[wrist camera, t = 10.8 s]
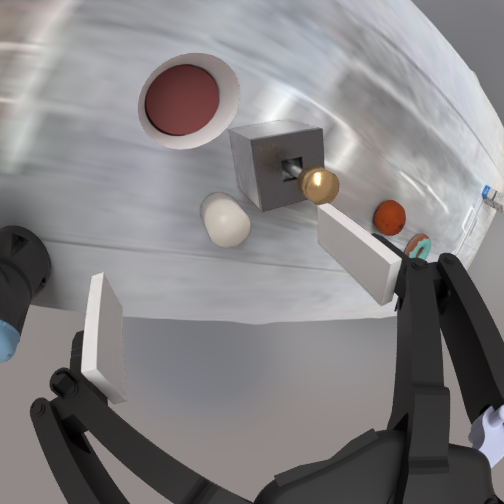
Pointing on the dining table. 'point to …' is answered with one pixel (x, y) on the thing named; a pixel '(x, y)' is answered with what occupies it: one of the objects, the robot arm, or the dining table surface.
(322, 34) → the dining table surface
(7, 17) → the dining table surface
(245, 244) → the dining table surface
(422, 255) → the donut
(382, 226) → the fruit
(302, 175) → the gold knobbed rod
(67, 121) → the dining table surface
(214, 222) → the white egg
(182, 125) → the wineglass
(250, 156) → the grey block with hole
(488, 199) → the ink box
